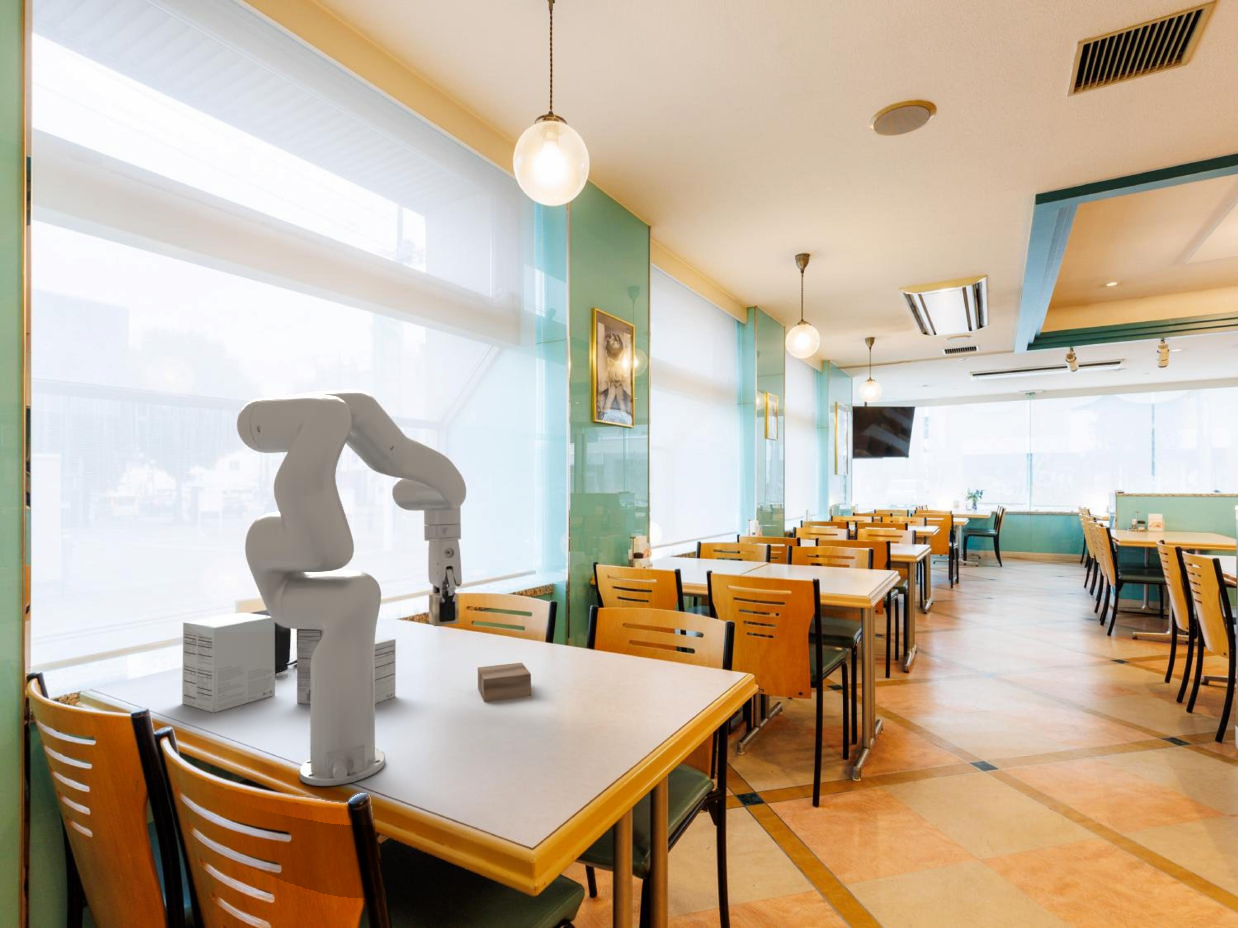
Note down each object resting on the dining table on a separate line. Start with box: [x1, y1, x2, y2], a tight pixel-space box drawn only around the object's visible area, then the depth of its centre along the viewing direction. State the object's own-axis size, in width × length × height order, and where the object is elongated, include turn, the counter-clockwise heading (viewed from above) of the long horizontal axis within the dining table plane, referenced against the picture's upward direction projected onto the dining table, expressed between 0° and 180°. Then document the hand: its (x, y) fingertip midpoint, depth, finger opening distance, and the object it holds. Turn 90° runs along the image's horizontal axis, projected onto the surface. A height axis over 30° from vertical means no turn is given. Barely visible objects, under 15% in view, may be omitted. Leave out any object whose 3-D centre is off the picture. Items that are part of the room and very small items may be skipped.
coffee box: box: [296, 629, 324, 705], centre depth 141 cm, size 9×6×16 cm
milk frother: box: [250, 609, 297, 673], centre depth 167 cm, size 14×16×15 cm
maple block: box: [428, 592, 460, 627], centre depth 136 cm, size 5×5×6 cm
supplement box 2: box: [375, 636, 397, 705], centre depth 139 cm, size 7×7×13 cm
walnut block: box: [477, 662, 532, 703], centre depth 142 cm, size 10×10×5 cm
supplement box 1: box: [181, 611, 276, 713], centre depth 141 cm, size 13×13×18 cm
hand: (443, 617), depth 136 cm, fingers closed on maple block, 5 cm apart
